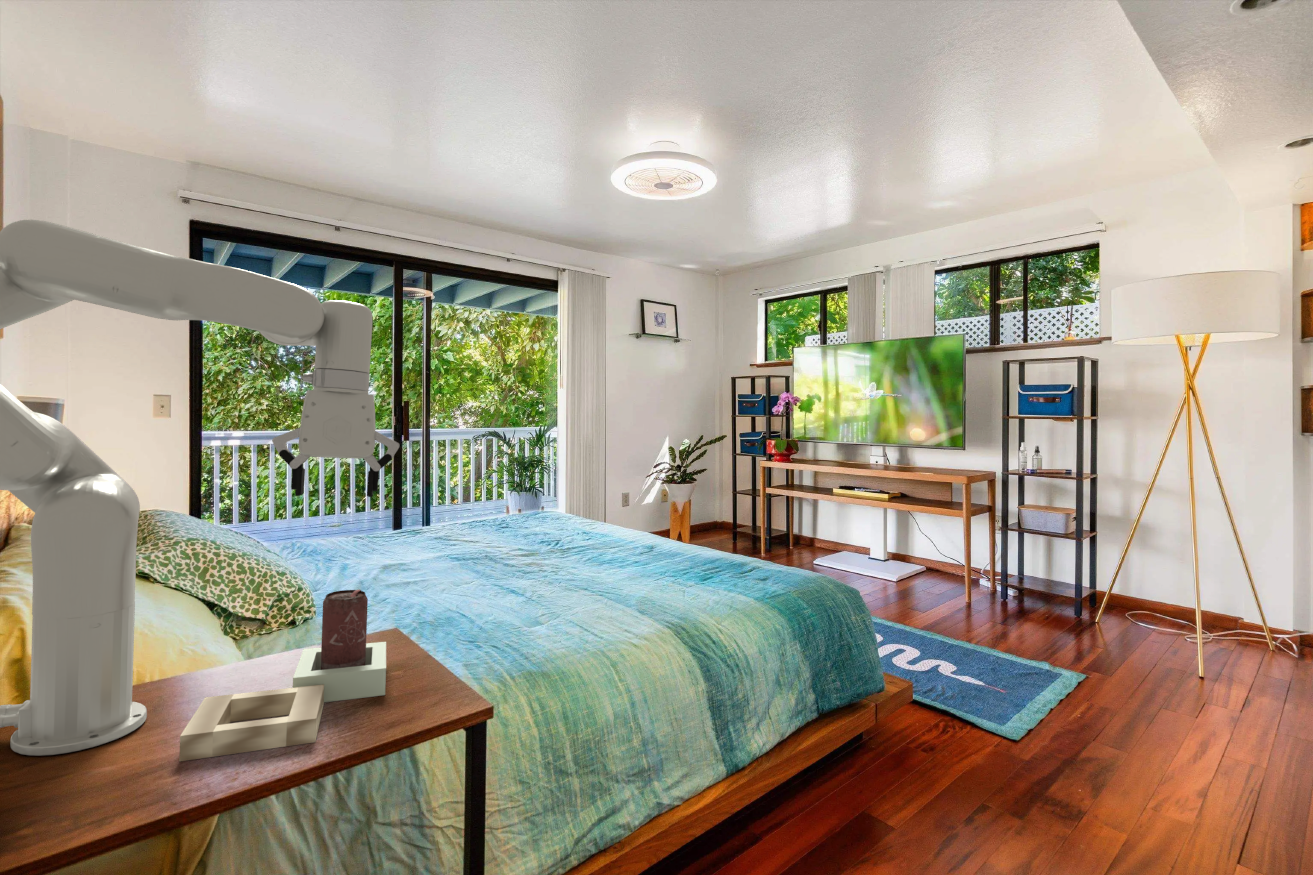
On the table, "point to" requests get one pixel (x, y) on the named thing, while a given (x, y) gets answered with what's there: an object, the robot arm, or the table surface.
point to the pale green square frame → (344, 675)
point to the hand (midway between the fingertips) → (335, 495)
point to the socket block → (253, 722)
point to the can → (344, 629)
